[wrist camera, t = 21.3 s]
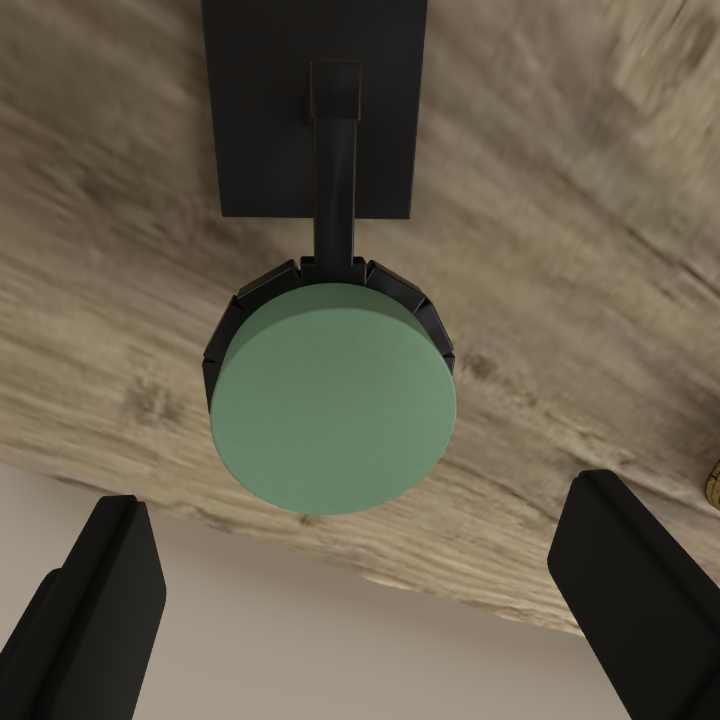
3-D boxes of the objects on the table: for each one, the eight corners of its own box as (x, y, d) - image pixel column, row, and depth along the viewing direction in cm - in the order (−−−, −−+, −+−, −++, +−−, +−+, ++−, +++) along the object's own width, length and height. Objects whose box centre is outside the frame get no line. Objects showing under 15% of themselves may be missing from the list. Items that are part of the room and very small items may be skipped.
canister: (394, 229, 23) (474, 306, 13) (385, 363, 26) (442, 508, 16) (241, 228, 22) (193, 309, 12) (252, 367, 25) (223, 524, 15)
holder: (423, -6, 21) (555, -150, 10) (395, 350, 29) (452, 474, 18) (201, -24, 20) (90, -210, 9) (238, 353, 28) (202, 489, 17)
